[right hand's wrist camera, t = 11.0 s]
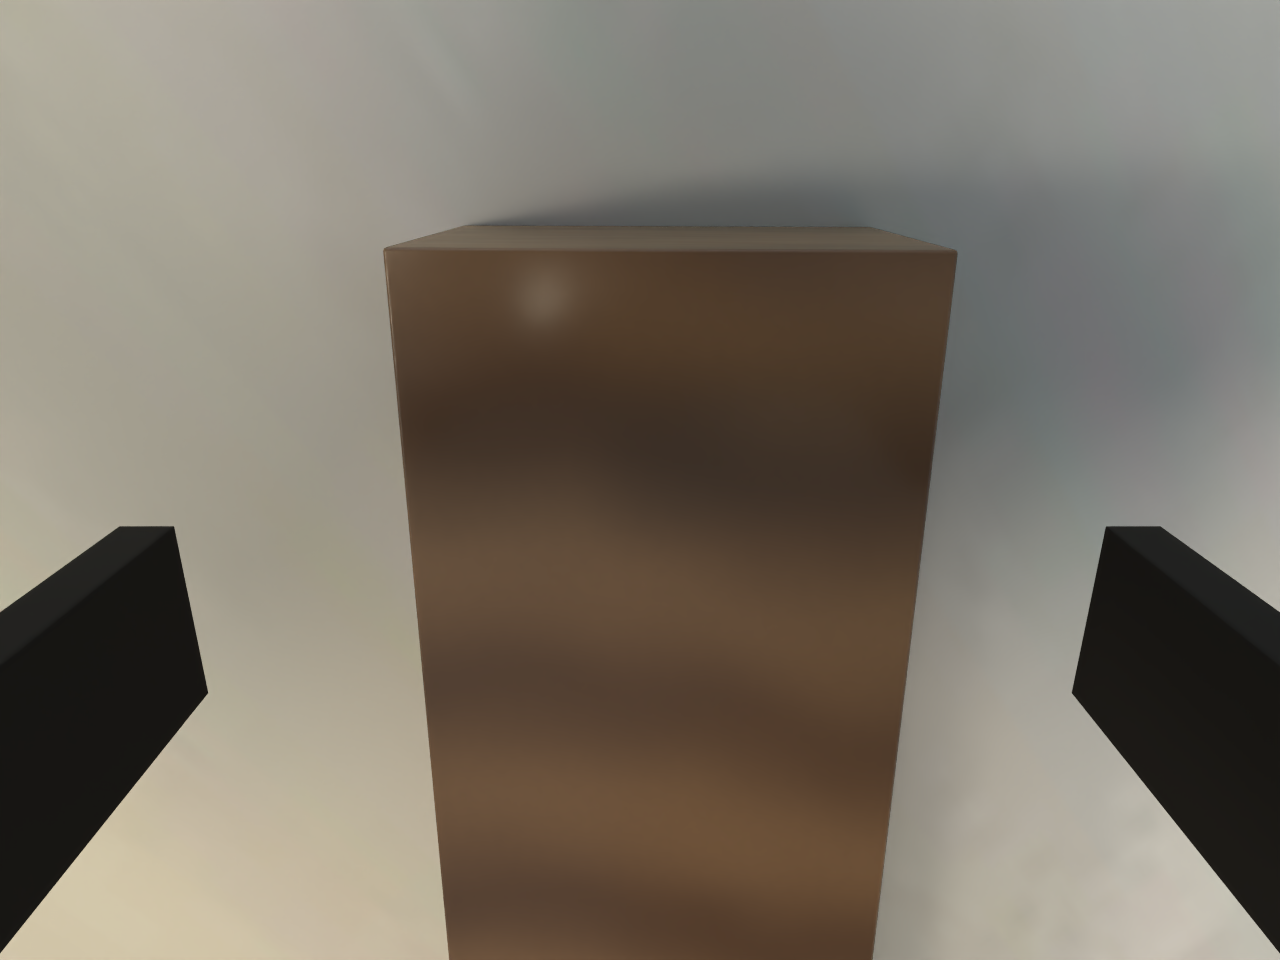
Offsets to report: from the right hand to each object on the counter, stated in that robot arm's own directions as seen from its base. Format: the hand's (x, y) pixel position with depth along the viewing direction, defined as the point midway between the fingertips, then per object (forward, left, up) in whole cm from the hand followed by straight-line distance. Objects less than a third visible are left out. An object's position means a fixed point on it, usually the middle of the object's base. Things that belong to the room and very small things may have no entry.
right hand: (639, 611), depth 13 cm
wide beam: (+4, -33, -11) cm, 35 cm away
